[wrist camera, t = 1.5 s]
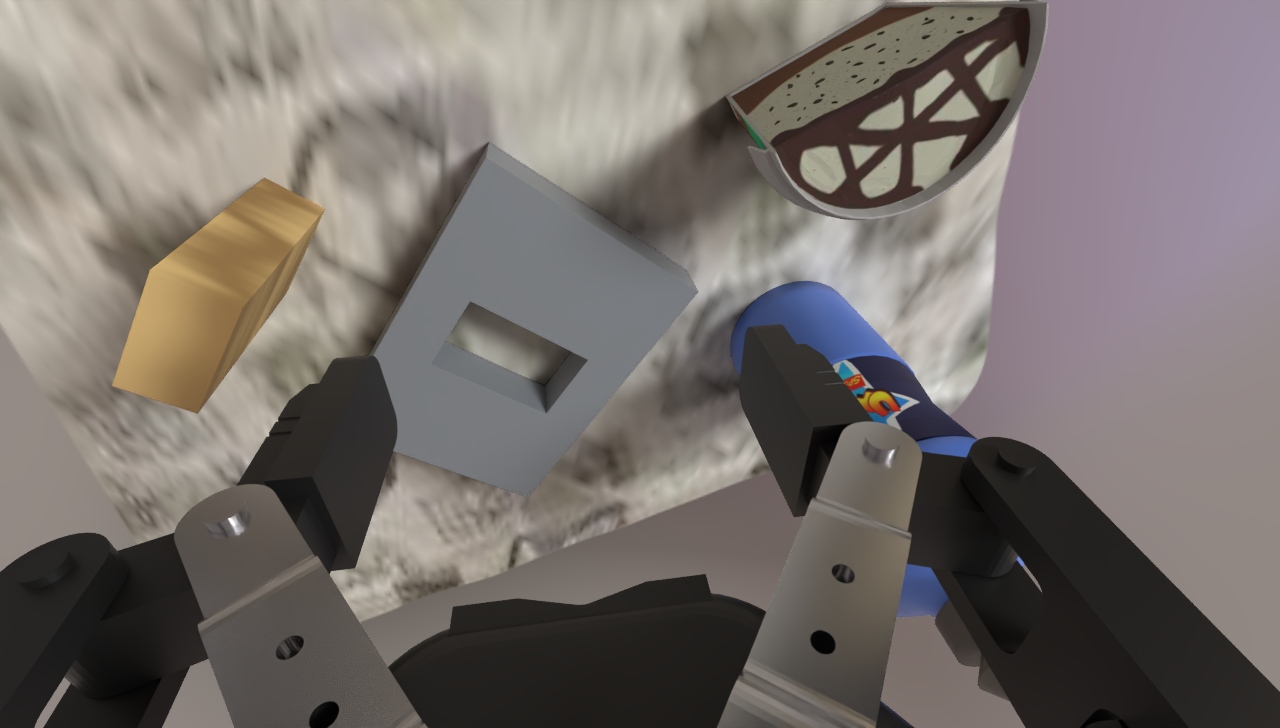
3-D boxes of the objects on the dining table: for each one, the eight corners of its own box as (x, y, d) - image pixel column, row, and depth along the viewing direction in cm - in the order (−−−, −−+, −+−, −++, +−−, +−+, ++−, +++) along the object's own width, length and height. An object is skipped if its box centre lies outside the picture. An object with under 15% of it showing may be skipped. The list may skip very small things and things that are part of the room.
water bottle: (703, 334, 39) (891, 719, 19) (818, 252, 37) (1167, 591, 17) (766, 407, 44) (967, 772, 24) (870, 339, 42) (1187, 679, 22)
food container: (738, 205, 34) (804, 278, 26) (700, 110, 31) (762, 160, 23) (930, 100, 33) (1064, 144, 24) (913, -14, 29) (1063, -6, 21)
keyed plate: (343, 400, 37) (331, 429, 35) (489, 141, 30) (485, 157, 27) (527, 468, 44) (528, 497, 41) (686, 270, 36) (698, 291, 34)
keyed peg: (228, 267, 31) (111, 385, 22) (264, 178, 29) (149, 269, 20) (286, 292, 33) (197, 413, 24) (325, 208, 30) (242, 307, 22)
